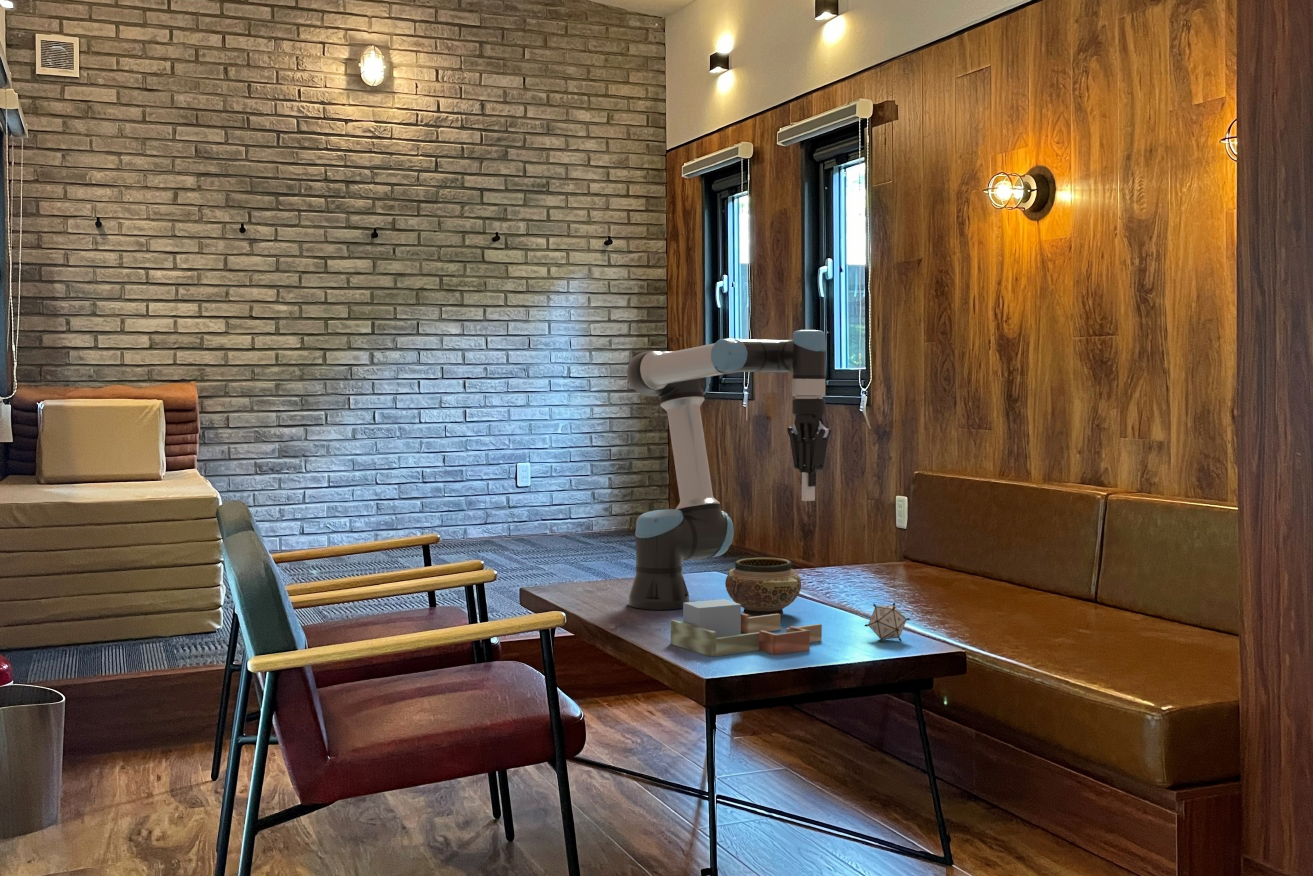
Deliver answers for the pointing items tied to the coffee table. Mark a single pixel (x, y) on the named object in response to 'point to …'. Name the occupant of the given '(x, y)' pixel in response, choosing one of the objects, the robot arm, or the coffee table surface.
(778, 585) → the ceramic bowl
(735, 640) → the low zigzag wall
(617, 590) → the coffee table surface
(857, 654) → the coffee table surface
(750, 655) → the coffee table surface
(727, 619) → the slate block
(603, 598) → the coffee table surface
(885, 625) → the game die
